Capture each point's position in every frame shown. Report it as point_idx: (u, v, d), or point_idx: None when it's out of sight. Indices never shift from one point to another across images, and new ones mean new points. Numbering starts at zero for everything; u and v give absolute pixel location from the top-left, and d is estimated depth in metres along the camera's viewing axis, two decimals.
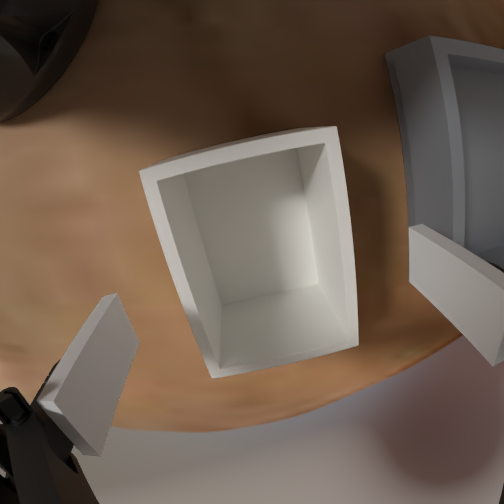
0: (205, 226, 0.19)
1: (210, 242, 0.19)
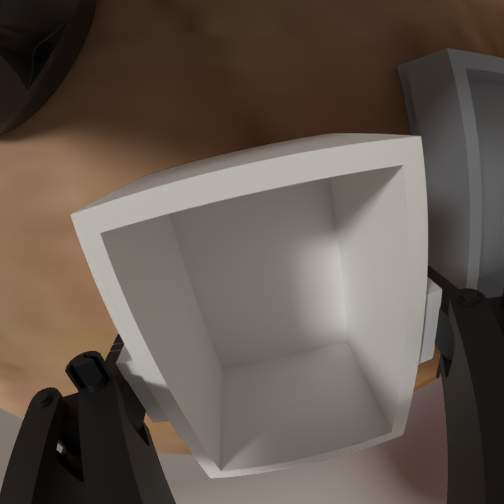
0: (197, 272, 0.14)
1: (205, 293, 0.14)
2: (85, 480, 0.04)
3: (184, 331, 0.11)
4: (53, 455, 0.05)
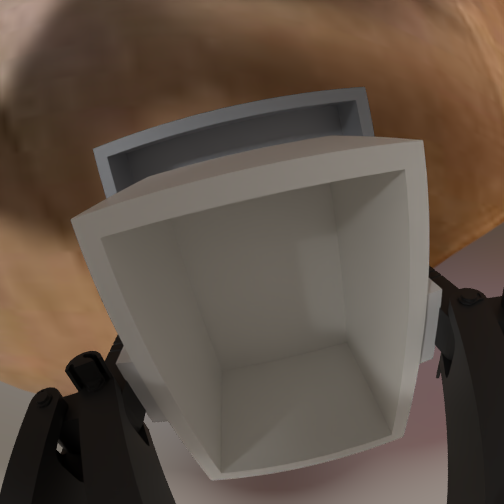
0: (198, 275, 0.14)
1: (205, 296, 0.14)
2: (85, 480, 0.04)
3: (185, 334, 0.11)
4: (53, 456, 0.05)
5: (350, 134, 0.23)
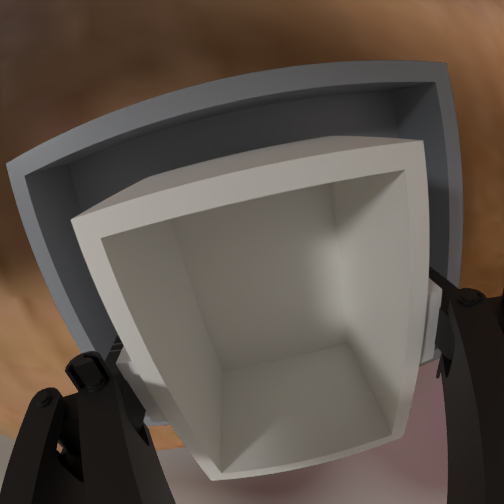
0: (198, 275, 0.14)
1: (205, 296, 0.14)
2: (85, 480, 0.04)
3: (185, 334, 0.11)
4: (53, 456, 0.05)
5: (416, 137, 0.14)
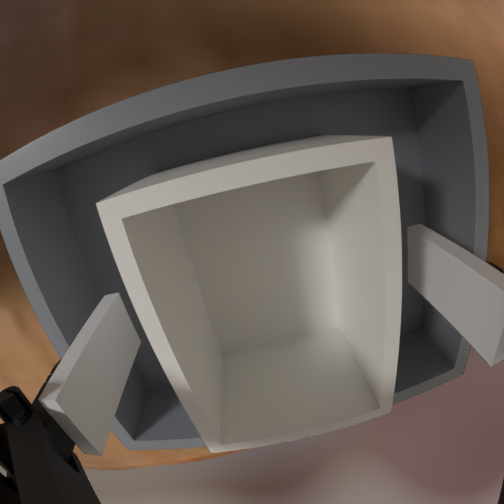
0: (200, 261, 0.15)
1: (207, 281, 0.15)
2: None
3: (189, 312, 0.12)
4: None
5: (439, 140, 0.12)
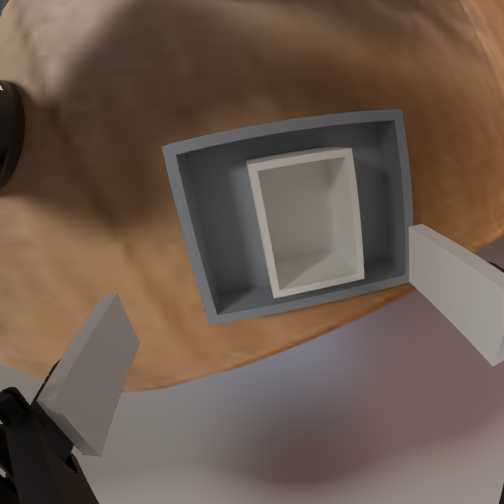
0: (266, 206, 0.30)
1: (268, 216, 0.30)
2: None
3: None
4: None
5: (386, 149, 0.27)
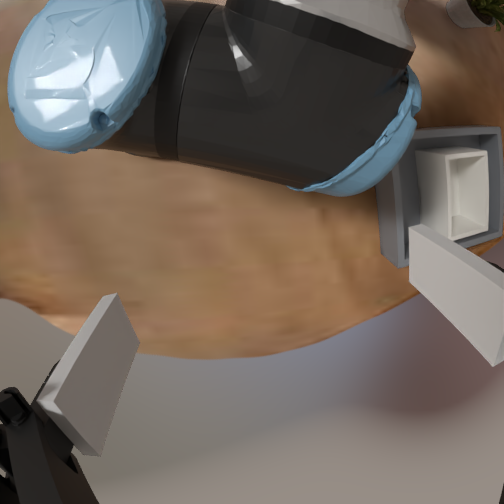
0: None
1: None
2: None
3: None
4: None
5: (488, 150, 0.34)
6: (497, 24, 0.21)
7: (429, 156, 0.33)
